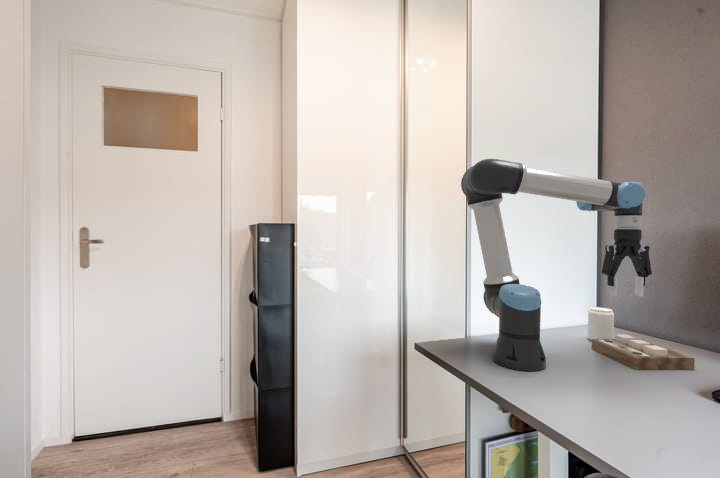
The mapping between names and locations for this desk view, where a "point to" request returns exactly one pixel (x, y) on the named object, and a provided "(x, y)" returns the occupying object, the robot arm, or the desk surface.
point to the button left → (623, 338)
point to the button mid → (637, 344)
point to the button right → (655, 351)
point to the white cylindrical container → (600, 323)
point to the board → (642, 356)
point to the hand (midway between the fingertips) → (625, 295)
